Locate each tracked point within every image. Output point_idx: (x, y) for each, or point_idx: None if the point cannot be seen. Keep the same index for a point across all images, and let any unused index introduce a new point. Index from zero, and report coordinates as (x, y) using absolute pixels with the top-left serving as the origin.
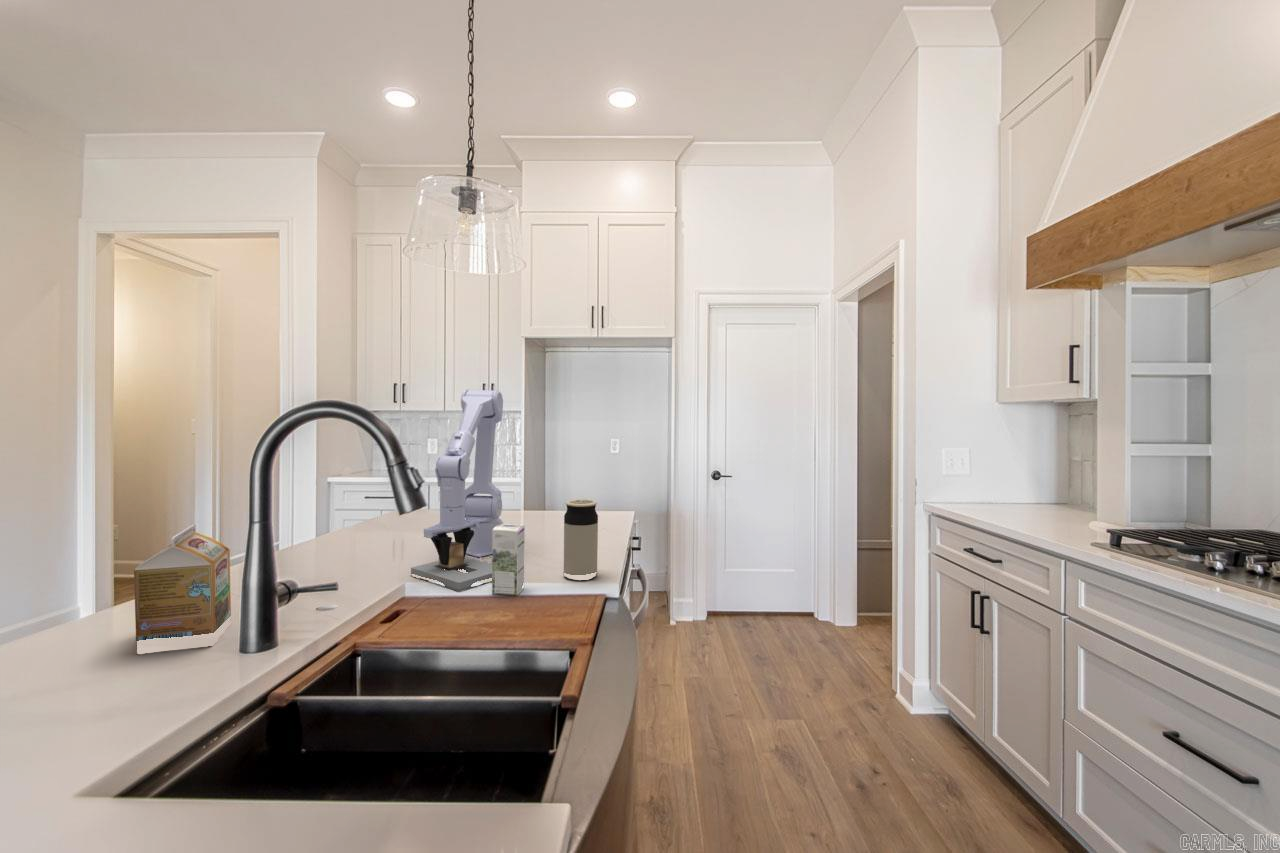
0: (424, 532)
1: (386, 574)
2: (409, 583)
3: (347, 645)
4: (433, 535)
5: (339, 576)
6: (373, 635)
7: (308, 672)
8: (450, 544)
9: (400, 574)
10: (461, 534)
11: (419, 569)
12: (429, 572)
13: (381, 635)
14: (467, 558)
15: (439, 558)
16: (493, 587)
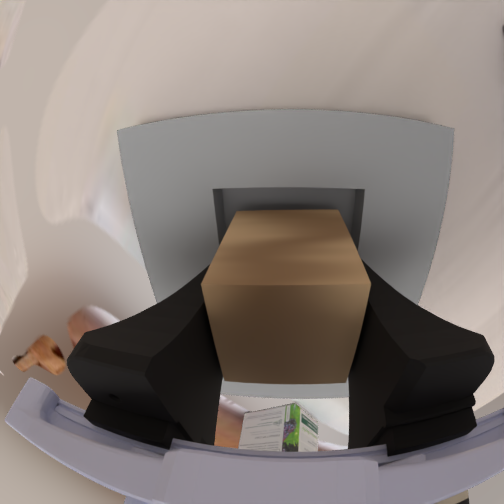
0: (20, 407)
1: (89, 45)
2: (105, 213)
3: (34, 360)
4: (83, 420)
5: (19, 13)
6: (51, 366)
7: (23, 366)
8: (275, 348)
9: (121, 73)
10: (365, 424)
11: (134, 191)
12: (152, 265)
13: (58, 372)
14: (431, 211)
15: (209, 265)
16: (243, 426)
